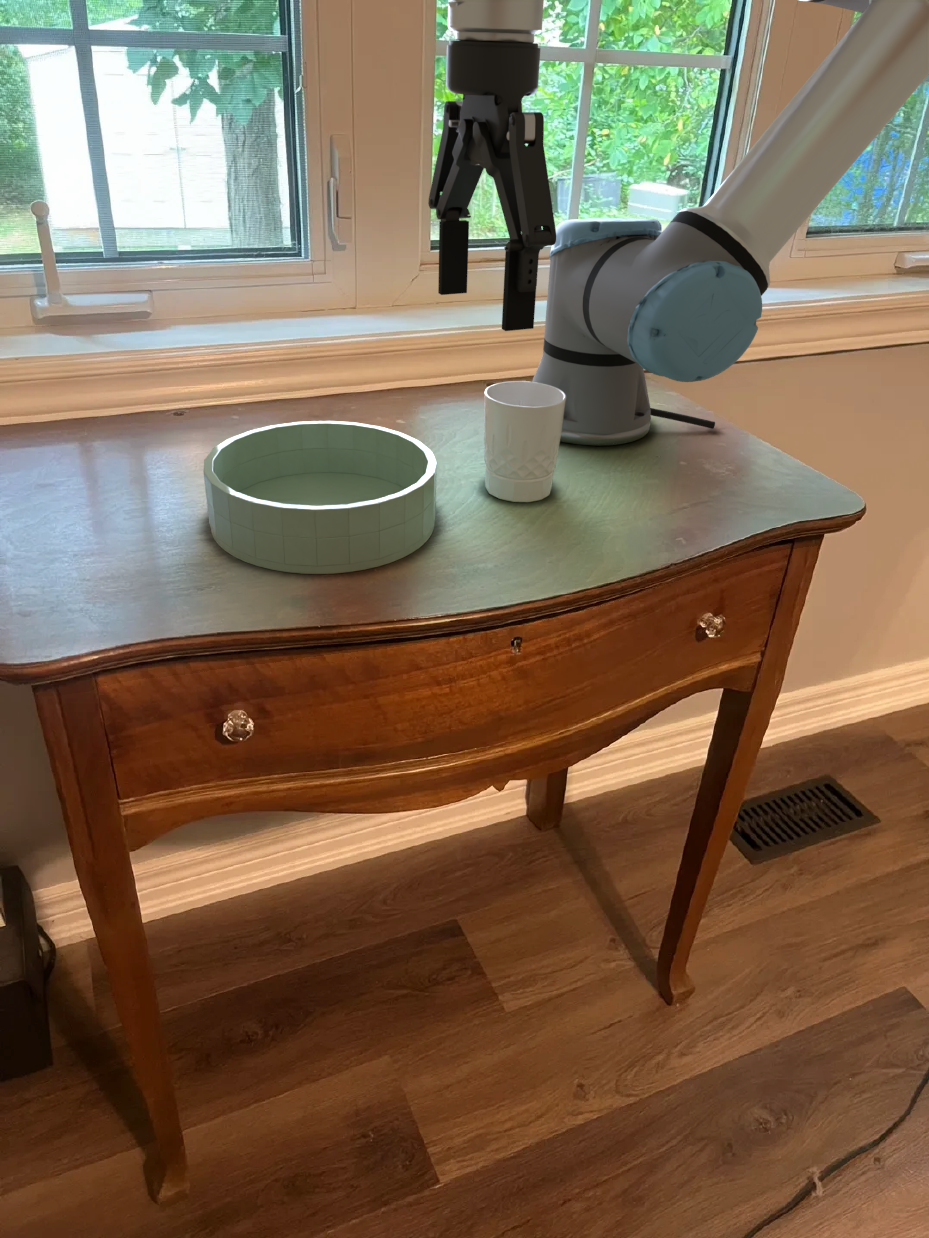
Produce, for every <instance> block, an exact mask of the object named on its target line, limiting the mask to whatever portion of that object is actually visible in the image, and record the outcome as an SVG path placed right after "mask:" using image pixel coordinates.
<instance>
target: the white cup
mask: <svg viewBox="0 0 929 1238" xmlns="http://www.w3.org/2000/svg"><path fill="white" fill-rule="evenodd" d="M483 396H484V397H483V401H484V403H483V405H484V406H483V407H484V411H483V413H484V414H483V416H484V418H483V419H484V420H483V444H484V451H483V454H484V455H483V456H484V464H485V469H484V487H485V489H486V491H487V492H488V494H490V495H491V496H493V497H495V498H498V500H499V499H500V500H503V501H507V502H513V503H514V502H515V503H532V502H536V501H537V502H538V501H541V500H543V499H545V498H547V497H548V496H550V495H551V492H552V488H553V480H554V473H555V469H556V468H557V462H558V461H557V460H558V455H559V449H560V443H561V441H560V438H561V431H562V424H563V417H564V410H565V403H566V395H565V393H564V392H563V391H561V390H560V389H558V388H556V387H553V386H550V385H547V384H542V383H537V382H532V381H526V380H513V381H511V380H510V381H503V382H502V381H501V382H498V383H494V384H491V385H489V386H488V387H486V388H485V389H484V395H483Z"/></svg>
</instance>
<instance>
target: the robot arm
mask: <svg viewBox="0 0 929 1238" xmlns="http://www.w3.org/2000/svg"><path fill="white" fill-rule="evenodd" d="M798 1H800V2H805V3H807V2H808V3H815V4H821V5H827V6H832V7H836V8H840V9H844V10H849V11H852V12H857V13H861V14H860V15H859V17H858V18H857V19H856V20H855V22H854V23H853V24H852V25H851V26H850V28H849V29H848V30H847V31H846V33H845V34H844V35H843V36H842V37H841V39H840V40H839V41H838V42H837V44H836V45H835V46H834V47H833V48H832V49H831V51H830V52H829V53H828V54H827V56H826V57H825V58H824V59H823V60H822V61H821V62H820V64H819V65H818V67H816V69H815V70H814V71H813V73H812V74H811V75H810V76H809V78H808V79H807V80H806V81H805V82H804V84H803V85H802V86H801V87H800V88H799V90H798V91H797V92H796V93H795V94H794V95H793V97H792V98H791V99H790V100H789V101H788V102H787V104H786V106H785V107H784V108H783V109H782V110H781V111H780V112H779V114H778V115H777V116H776V117H775V119H774V120H773V121H772V122H771V123H770V125H768V127H767V129H765V131H764V132H763V133H762V135H760V137H759V138H758V140H757V141H755V143H754V144H753V145H752V147H751V148H750V149H749V150H748V151H747V153H746V154H745V155H744V156H743V157H742V158H741V160H740V161H739V162H738V163H737V164H736V166H735V167H734V168H733V170H732V171H731V172H730V174H729V175H728V176H727V177H726V178H725V180H724V181H723V182H722V183H721V184H720V185H719V186H718V188H717V189H716V190H715V191H714V193H713V194H712V195H711V196H710V198H708V199H707V201H706V202H705V203H704V205H702V206H694V207H693V206H692V207H685V208H682V209H680V210H679V211H678V212H677V213H676V215H675V216H674V217H673V219H671V221H670V222H669V223H668V224H667V226H666V227H665V228H664V229H663V228H662V223H661V221H660V220H658V219H654V218H633V217H631V218H630V217H629V218H628V217H627V218H624V217H623V218H621V217H620V218H617V217H616V218H615V217H613V218H579V219H578V218H575V219H566V220H563V221H561V222H560V223H558V225H557V226H556V223H555V222H556V221H555V215H554V209H553V201H552V194H551V188H550V180H549V173H548V168H547V167H548V166H547V160H546V159H547V158H546V154H545V148H544V147H545V146H544V139H545V138H544V135H545V134H544V131H545V128H544V127H545V117H544V114H543V113H542V112H541V111H539V112H538V111H536V112H535V111H534V112H533V111H532V112H530V111H526V112H525V111H523V101H522V100H523V98H524V97H531V96H533V95H536V93H537V91H538V89H539V77H540V63H541V47H539V43H537V42H535V35H539V34H540V33H541V32H542V31H543V17H544V16H543V14H544V3H545V2H544V0H447V28H448V29H449V30H450V31H451V32H454V36H455V37H454V38H455V39H451V40H449V44H446V66H445V67H446V68H445V69H446V74H445V75H446V76H445V85H446V89H447V90H448V91H449V92H450V93H451V94H457V95H462V100H446V101H445V102H444V107H443V121H442V122H443V123H442V130H441V131H442V132H441V136H440V141H439V146H438V152H437V156H436V161H435V166H434V169H433V170H434V171H433V176H432V180H431V186H430V190H429V195H428V202H427V203H428V207H429V209H430V210H435V215H436V218H437V220H440V221H439V223H438V225H439V226H438V228H439V229H438V236H439V238H438V288H437V289H438V290H437V291H438V294H439V295H441V296H444V295H446V296H447V295H457V294H458V295H461V294H467V293H468V273H469V271H468V270H469V269H468V268H469V267H468V265H469V236H470V233H469V232H470V221H469V220H467V219H470V218H472V215H471V213H470V210H469V206H470V203H471V201H472V198H473V196H474V194H475V191H476V188H477V186H478V184H479V181H480V179H481V177H482V174H483V171H484V169H485V172H486V174H487V175H488V176H489V177H491V178H492V179H493V182H494V185H495V190H496V192H497V196H498V200H499V204H500V207H501V208H500V209H501V211H502V215H503V218H504V222H505V226H506V229H507V232H508V238H509V240H508V241H507V243H506V244H505V246H504V247H503V248H504V251H505V254H504V256H505V257H504V272H503V273H504V274H503V275H504V277H503V294H502V313H501V314H502V315H501V330H503V331H504V332H511V331H522V330H523V331H524V330H532V329H534V327H535V314H536V313H535V312H536V296H537V294H536V293H537V284H538V271H539V258H540V257H539V256H540V252H541V251H542V250H543V249H544V248H546V247H547V246H548V247H549V246H550V247H551V248H550V251H549V256H548V260H549V272H548V273H549V274H548V284H547V285H548V286H547V297H546V298H547V299H546V307H545V308H546V310H545V323H544V333H543V334H544V335H543V347H542V348H543V349H542V356H541V358H540V361H539V363H538V366H537V368H536V371H535V374H534V376H533V378H532V380H531V382H537V383H542V384H547V385H550V386H553V387H556V388H558V389H560V390H561V391H563V392H564V393H565V395H566V403H565V410H564V417H563V424H562V431H561V438H560V442H563V443H568V444H573V445H584V446H616V445H623V444H628V443H631V442H635V441H638V440H640V439H641V438H643V437H645V436H646V435H647V434H648V433H649V431H650V426H651V419H652V416H653V417H657V418H662V419H668V420H672V421H675V422H676V421H678V422H680V423H681V422H682V423H686V424H690V425H695V426H698V427H703V428H707V429H712V430H713V429H715V426H716V421H712V420H709V419H705V418H700V417H696V416H691V415H687V414H681V413H677V412H672V411H669V410H664V409H659V408H654V407H651V402H650V399H649V392H648V387H647V380H646V374H645V371H646V372H649V373H651V374H653V375H655V376H659V377H665V378H667V379H669V380H672V381H675V382H681V383H694V382H702V381H705V380H709V379H712V378H714V377H716V376H718V375H720V374H722V373H724V372H725V371H726V370H728V369H729V368H730V367H732V366H733V365H734V364H735V363H737V362H738V360H739V359H740V358H741V357H742V356H743V355H744V354H745V352H746V351H747V350H748V349H749V347H750V345H751V344H752V343H753V341H754V339H755V337H756V335H757V333H758V330H759V327H758V325H757V321H758V320H759V319H761V318H762V312H763V298H762V296H763V295H764V294H765V292H767V290H768V289H769V287H770V285H771V275H770V274H771V273H770V264H771V262H772V260H774V258H775V257H776V256H777V255H778V254H779V252H780V251H781V250H782V249H783V248H784V246H785V245H786V244H787V243H788V242H789V240H790V239H791V238H792V237H793V236H794V234H795V233H796V232H797V231H798V230H799V229H800V227H801V226H802V225H803V224H804V223H805V221H806V220H807V219H808V218H809V217H810V216H811V214H812V213H813V212H814V211H815V210H816V209H817V208H818V206H819V205H820V204H821V203H822V201H823V200H824V199H825V198H826V197H827V195H828V194H829V193H830V192H831V191H832V190H833V188H834V187H835V186H836V185H837V184H838V182H840V180H841V179H842V178H843V177H844V175H845V174H846V173H847V172H848V171H849V169H850V168H851V167H852V166H853V164H855V162H856V161H857V160H858V159H859V158H860V156H861V155H862V154H863V153H864V151H865V150H866V149H867V148H868V147H869V146H870V144H871V143H872V142H873V141H875V139H876V138H877V136H878V135H879V134H880V133H881V131H882V130H883V129H884V128H885V127H886V126H887V124H888V123H889V122H890V121H891V120H892V118H893V117H894V116H895V115H896V114H897V112H899V110H900V109H901V108H902V107H903V106H904V104H905V103H906V102H907V101H908V100H909V98H910V97H911V96H912V95H913V93H915V92H916V90H917V89H918V88H919V87H920V85H921V84H922V83H923V82H924V81H925V79H927V77H928V76H929V0H798ZM460 219H461V220H460Z"/></svg>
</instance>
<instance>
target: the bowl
mask: <svg viewBox="0 0 929 1238" xmlns="http://www.w3.org/2000/svg"><path fill="white" fill-rule="evenodd" d="M437 476H438V462H437V459H436V457H435V455H434V453H433V451H432V449H430V448H429V447H428V446H426V445H425V444H424V443H423V442H421V441H420V440H419V439H416V438H415V437H412V436H410V435H408V434H406V433H403V432H401V431H397V430H394V429H390V428H387V427H384V426H379V425H373V424H367V423H362V422H361V423H360V422H355V421H337V420H311V421H310V420H309V421H293V422H287V423H277V424H271V425H267V426H263V427H259V428H254V429H250V430H247V431H245V432H242V433H239V434H237V435H234V436H231V437H229V438H227V439H225V440H224V441H222V442H221V443H219V444H217V445H216V446H214V447H213V448H212V449H211V451H210V452H209V454H207V456H206V457H205V458H204V460H203V480H204V489H205V499H206V507H207V514H208V525H209V527H210V533H211V535H212V538H213V540H214V541H215V542H216V544H217V545H218V546H219V547H220V548H221V549H222V550H223V551H224V552H225V553H228V554H229V555H231V556H232V557H234V558H236V559H238V560H240V561H243V562H245V563H247V564H250V565H253V566H256V567H259V568H264V569H267V570H273V571H278V572H282V573H293V574H302V575H303V574H306V575H308V574H309V575H330V574H331V575H333V574H343V573H344V574H345V573H352V572H353V573H354V572H359V571H365V570H370V569H374V568H378V567H382V566H385V565H389V564H391V563H393V562H396V561H399V560H401V559H404V558H405V557H407V556H409V555H411V554H413V553H414V552H416V551H417V550H418V549H420V548H421V547H422V546H424V545H425V544H426V543H427V542H428V540H429V538H430V537H431V536H432V534H433V531H434V530H435V521H436V520H435V518H436V514H437V511H436V510H437V480H438V479H437V478H438V477H437Z"/></svg>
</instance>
